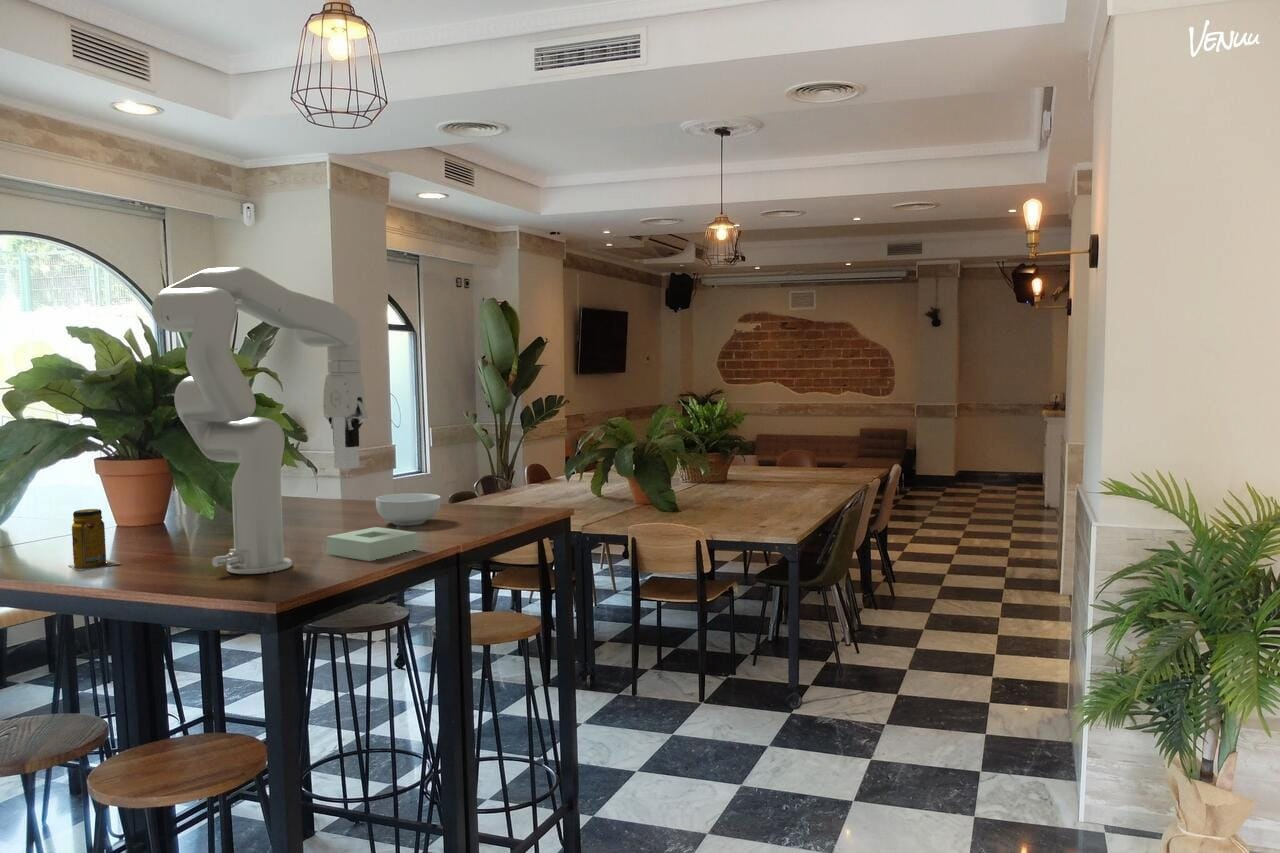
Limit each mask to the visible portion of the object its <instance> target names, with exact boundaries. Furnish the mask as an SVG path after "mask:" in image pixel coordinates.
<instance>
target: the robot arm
mask: <svg viewBox="0 0 1280 853" xmlns="http://www.w3.org/2000/svg"><path fill="white" fill-rule="evenodd" d="M238 311H241V312H243V313H245V314H247V315H250V316H252V317H253V318H256V320H257V319H258V320H259V321H262V322H264V323H265V324H268V325H269V326H272V327H275V328H280V329H285V330H291V331H292V330H294V333H295V336H296V338H297V340H298V341H299V342H300V343H301V344H303V345H305V346H306V347H311V348H312V347H313V348H325V347H326V349H327V350H326V352H327V356H326V357H327V358H326V359H327V374H326V375H325V379H324V385H323V404H322V405H323V408H322V409H323V414H324V416H323V417H324V418H325V419H326V420H327V421H328V423H329V424H330V429H331V430H332V437H333V441H332V442H333V446H334V429H333V417H347V423H348V429H349V430H347V447H358V446H359V447H360V430H361V428H362V427H361V426H362V425H363V423H364V422H365V421H366V420H367V419H368V414H367V412H366V393H365V385H364V379H363V374H362V356H361V354H362V353H361V323H360V319H359V318H357V317H356V316H354V315H352V314H351V313H350V312H349V311H347V310H346V309H344V308H342V307H341V306H339V305H337V304H335V303H332V302H329V301H327V300H324V299H320V298H317V297H313V296H310V295H306V294H304V293H301V292H298V291H297V292H296V291H292V290H290V289H288V288H287V287H285V286H283V285H281V284H279V283H277V282H275V281H273V280H272V279H271V278H268V277H267V276H265V275H263V274H261V273H260V272H258V271H256V270H254V269H251V268H248V267H243V266H230V267H228V266H225V267H213V268H206V269H203V270H200V271H199V272H198V271H197V273H194V274H192V275H190V276H187V277H186V278H184V279H182V280H180V281H178V282H175V283H173V284H172V285H169V286H168V287H166V288H163V289H162V290H161V291H160V292H158V293H157V294H156V296H155V297H154V299H153V301H152V304H151V314H152V315H151V316H152V318H153V320H154V322H155V323H156V324H157V325H158V327H160V328H161V329H162V330H164V331H168V332H170V333H191V336H190V339H189V342H188V346H187V348H186V352H185V363H186V368H187V371H188V373H189V375H190V376H187V377H185V378H183V379H182V380H180V382H179V383H178V384H177V386H176V387H175V390H174V395H173V397H174V398H173V399H174V408H175V411H176V413H177V415H178V417H179V419H180V421H181V422H182V423H183V425H184V427H185V428H186V430H187V431H188V433H189V434H190V436H191V438H192V439H193V441H194V442H195V444H196V445H197V447H198V448H199V450H200V451H201V452H202V454H203V455H204V456H205V457H206V458H208V459H210V460H211V461H214V462H220V463H221V462H223V463H238V464H239V465H238V468H237V469H236V472H235V473H234V475H233V479H232V484H231V499H232V502H231V503H232V523H233V524H232V526H233V548H229V552H228V553H227V554H226V555H220V556H219V555H218V556H215V557H214V556H213V558H212V560H211V564H212V566H214V567H221V566H224V565H226V570H227V572H229V573H230V574H237V575H258V574H269V573H275V572H279V571H283V570H286V569H289V568H290V567H292V563H293V561H292V559H291V558H289V557H284V532H283V530H284V529H283V528H284V527H283V506H282V504H283V503H282V502H283V501H282V477H281V476H282V462H283V457H284V449H285V442H286V440H285V433H284V430H283V429H282V427H281V425H280V424H279V423H277V422H276V421H275V420H273V419H271V418H268V417H262V416H252V415H253V414H254V412H255V411H256V410H255V409H256V407H257V406H256V405H257V403H256V398H255V395H254V392H253V389H252V388H251V387H250V385H249V383H248V381H247V379H246V378H245V376H244V373H243V372H242V371H241V368H240V367H239V365H238V363H237V361H236V360H235V358H234V355H233V353H232V350H231V339H232V334H233V329H234V325H235V323H236V319H237V316H238ZM352 414H355V416H351V415H352ZM352 419H355V420H354V421H352ZM274 571H275V572H274ZM268 572H269V573H268Z"/></svg>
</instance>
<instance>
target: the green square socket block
mask: <svg viewBox="0 0 1280 853" xmlns="http://www.w3.org/2000/svg"><path fill="white" fill-rule="evenodd" d="M418 540H419V538H418V532H415V531H409V530H408V531H407V530H401V529H394V528H386V527H380V526H379V527H377V526H375V527H369V528H364V529H360V530H359V529H358V530H353V531H349V532H343V533H338V534H332V535H327V536H326V555H329V556H336V557H340V558H341V557H342V558H348V559H354V560H358V561H359V560H360V561H366V562H370V561H371V562H372V561H376V559H377V560H380V559H384V558H389V557H393V555H394V556H397V554H398V555H401V554H400V553H403V552H407V551H411V550H415V549H418V550H419V546H418V544H419V543H418ZM411 552H412V551H411ZM407 553H408V552H407ZM403 554H404V553H403Z"/></svg>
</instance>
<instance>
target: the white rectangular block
mask: <svg viewBox="0 0 1280 853" xmlns="http://www.w3.org/2000/svg"><path fill="white" fill-rule="evenodd" d="M351 416H355V414H352V415H351ZM354 420H355V419H352V421H354ZM332 430H334V445H333V453H334V454H333V457H334V458H333V459H334V460H333V463H334V464H333V465H334V466H333V467H334V469H338V470H340V469H341V470H349V469H357V468H358V469H359V468H360V445H359V446H358V447H347V430H349V429H348V423H347V417H333V429H332Z"/></svg>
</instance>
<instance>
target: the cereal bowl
mask: <svg viewBox="0 0 1280 853" xmlns="http://www.w3.org/2000/svg"><path fill="white" fill-rule="evenodd" d="M441 500H442V498H441V495H438V494H433V493H416V492H413V493H411V492H409V493H408V492H407V493H391V494H383V495H380V496H376V498H375V508H376V511H377V513H378V514H379V516H380V517H381V518H383V519H384V520H386V521H389V522H391V523H392V525H396V526H417V525H422V524H424V523H425V522H426V521H428V520H430V519H433V518H434V517H436V515H437V514H438V513H439V511H440V508H441V502H442V501H441Z"/></svg>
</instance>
